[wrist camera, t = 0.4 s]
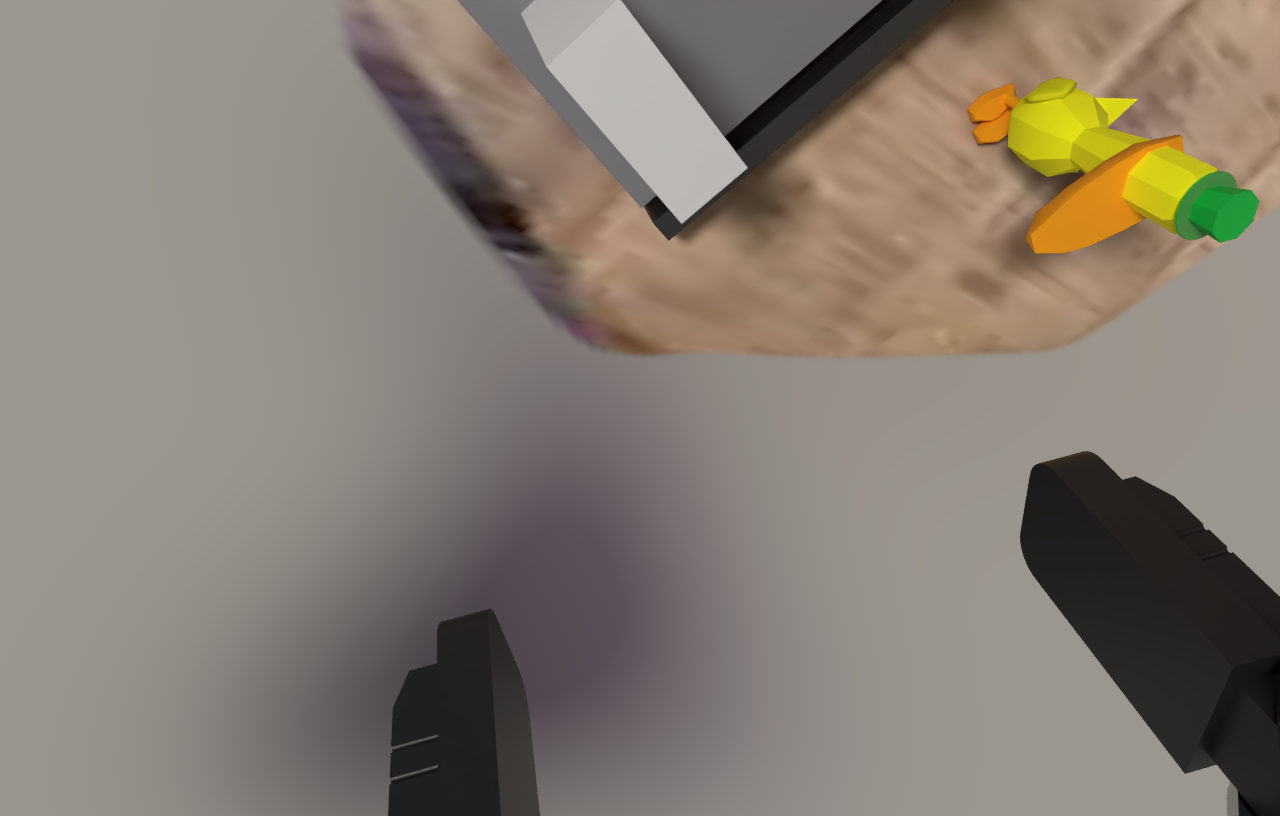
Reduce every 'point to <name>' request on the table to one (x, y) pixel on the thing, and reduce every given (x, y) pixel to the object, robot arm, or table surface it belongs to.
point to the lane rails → (813, 90)
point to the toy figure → (1107, 170)
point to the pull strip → (695, 52)
